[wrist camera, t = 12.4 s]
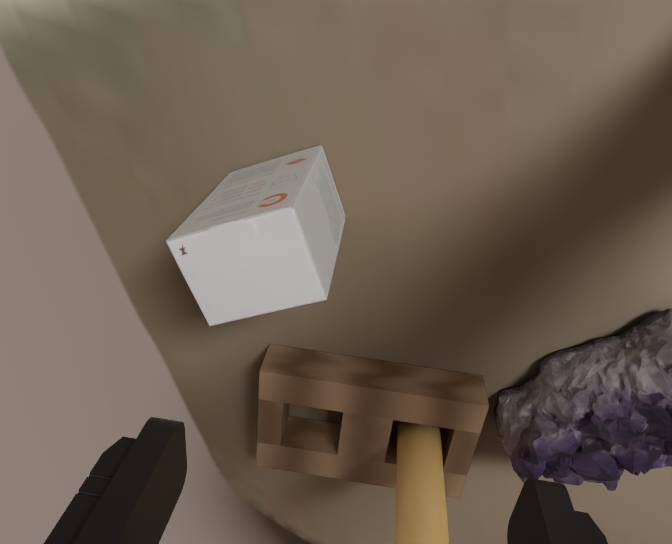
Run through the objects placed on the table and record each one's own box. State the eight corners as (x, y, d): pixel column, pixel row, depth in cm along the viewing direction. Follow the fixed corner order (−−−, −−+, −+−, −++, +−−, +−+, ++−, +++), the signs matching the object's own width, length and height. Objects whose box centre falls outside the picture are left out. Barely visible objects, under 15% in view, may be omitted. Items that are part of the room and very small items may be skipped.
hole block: (482, 375, 47) (489, 406, 44) (455, 465, 53) (459, 498, 50) (269, 343, 48) (259, 371, 45) (265, 435, 54) (256, 465, 51)
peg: (442, 403, 49) (454, 537, 37) (434, 433, 51) (443, 570, 39) (401, 396, 50) (399, 528, 37) (395, 426, 52) (391, 560, 39)
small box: (257, 241, 43) (206, 329, 32) (228, 171, 41) (161, 240, 29) (348, 218, 42) (329, 302, 30) (323, 142, 39) (291, 204, 27)
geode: (528, 461, 52) (541, 547, 43) (470, 375, 50) (471, 446, 41) (751, 388, 44) (824, 474, 35) (695, 281, 42) (758, 344, 33)
